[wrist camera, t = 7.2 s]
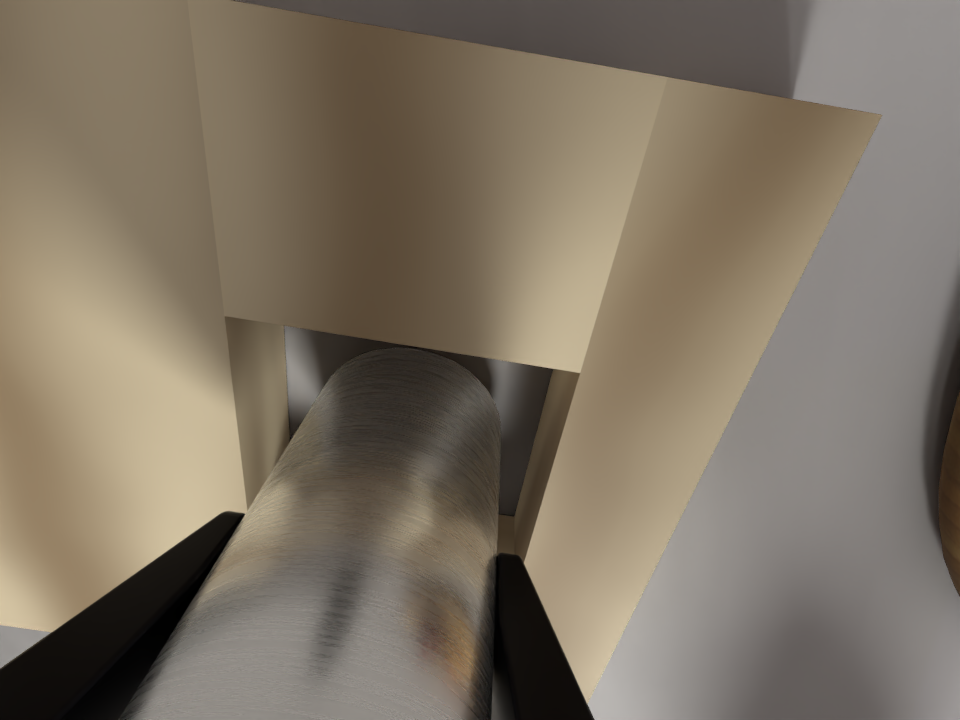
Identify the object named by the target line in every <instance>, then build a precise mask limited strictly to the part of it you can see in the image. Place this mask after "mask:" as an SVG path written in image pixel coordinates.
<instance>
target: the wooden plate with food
mask: <svg viewBox="0 0 960 720" xmlns="http://www.w3.org/2000/svg"><path fill="white" fill-rule="evenodd" d="M939 526H940V534H941V541H942V548H943V556H944V560H945V563H946V565H947V568H948V571H949V573H950V576H951V579H952V581H953V584H954V586H955V588H956V590H957V592H958V594H959V596H960V391H959V394H958V397H957V400H956V404H955V408H954V412H953V416H952V420H951V424H950V428H949V432H948V436H947V440H946V444H945V448H944V452H943V460H942V467H941V475H940V482H939Z"/></svg>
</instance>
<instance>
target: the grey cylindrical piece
mask: <svg viewBox="0 0 960 720" xmlns="http://www.w3.org/2000/svg"><path fill="white" fill-rule="evenodd" d="M500 454H501V422H500V416H499V412H498V410H497V407H496V404H495V402H494V400H493V398H492V397H491V395H490V393H489V392H488V390H487V389H486V388H485V386H484V385H483V384H482V383H481V382H480V381H479V380H478V379H477V378H476V377H475V376H474V375H473V374H472V373H470V372H469V371H468V370H467V369H466V368H464V367H462V366H461V365H459V364H458V363H456V362H454V361H452V360H450V359H448V358H446V357H444V356H441V355H438V354H435V353H433V352H429V351H425V350H420V349H414V348H404V347H402V348H385V349H378V350H374V351H370V352H366V353H364V354H361V355H359V356H357V357H355V358H353V359H351V360H349V361H348V362H346V363H345V364H343V365H342V366H341V367H340V368H338V369H337V370H336V371H335V372H334V373H333V375H332V376H331V377H330V378H329V380H328V381H327V383H326V384H325V386H324V387H323V389H322V391H321V392H320V394H319V396H318V397H317V399H316V400H315V402H314V404H313V405H312V407H311V409H310V410H309V412H308V413H307V415H306V417H305V418H304V420H303V421H302V423H301V425H300V426H299V428H298V430H297V431H296V433H295V434H294V436H293V438H292V439H291V441H290V443H289V444H288V446H287V447H286V449H285V451H284V452H283V454H282V456H281V457H280V459H279V460H278V462H277V464H276V465H275V467H274V468H273V470H272V472H271V473H270V475H269V477H268V478H267V480H266V481H265V483H264V485H263V486H262V488H261V490H260V491H259V493H258V494H257V496H256V498H255V499H254V501H253V503H252V504H251V506H250V507H249V509H248V511H247V512H246V514H245V515H244V517H243V519H242V520H241V522H240V524H239V525H238V527H237V528H236V530H235V532H234V533H233V535H232V537H231V538H230V540H229V541H228V543H227V545H226V546H225V548H224V550H223V551H222V553H221V554H220V556H219V558H218V559H217V561H216V562H215V564H214V566H213V567H212V569H211V571H210V572H209V574H208V575H207V577H206V579H205V580H204V582H203V584H202V585H201V587H200V588H199V590H198V592H197V593H196V595H195V597H194V598H193V600H192V601H191V603H190V605H189V606H188V608H187V609H186V611H185V613H184V614H183V616H182V618H181V619H180V621H179V622H178V624H177V626H176V627H175V629H174V631H173V632H172V634H171V635H170V637H169V639H168V640H167V642H166V644H165V645H164V647H163V648H162V650H161V652H160V653H159V655H158V656H157V658H156V660H155V661H154V663H153V665H152V666H151V668H150V669H149V671H148V673H147V674H146V676H145V678H144V679H143V681H142V682H141V684H140V686H139V687H138V689H137V691H136V692H135V694H134V695H133V697H132V699H131V700H130V702H129V703H128V705H127V707H126V708H125V710H124V712H123V713H122V715H121V716H120V718H119V720H491V715H492V686H493V657H494V627H495V597H496V568H497V541H498V512H499V483H500Z"/></svg>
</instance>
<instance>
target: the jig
mask: <svg viewBox="0 0 960 720" xmlns="http://www.w3.org/2000/svg"><path fill="white" fill-rule="evenodd" d="M881 116H882V115H880V114H874V113H869V112H863V111H857V110H851V109H846V108H840V107H834V106H829V105H823V104H817V103H812V102H806V101H800V100H795V99H789V98H783V97H778V96H772V95H766V94H761V93H755V92H749V91H744V90H738V89H732V88H727V87H721V86H715V85H709V84H704V83H698V82H692V81H687V80H681V79H675V78H670V77H664V76H658V75H653V74H647V73H641V72H636V71H630V70H624V69H619V68H613V67H607V66H602V65H596V64H590V63H585V62H579V61H573V60H567V59H562V58H556V57H550V56H545V55H539V54H533V53H528V52H522V51H516V50H511V49H505V48H499V47H494V46H488V45H482V44H477V43H471V42H465V41H460V40H454V39H448V38H443V37H437V36H431V35H425V34H420V33H414V32H408V31H403V30H397V29H391V28H386V27H380V26H374V25H369V24H363V23H357V22H352V21H346V20H340V19H335V18H329V17H323V16H318V15H312V14H306V13H301V12H295V11H289V10H284V9H278V8H272V7H266V6H261V5H255V4H249V3H244V2H238V1H232V0H0V625H5V626H12V627H19V628H26V629H33V630H40V631H47V632H53V631H54V630H56V629H57V628H58V627H60V626H61V625H63V624H64V623H66V622H67V621H68V620H70V619H71V618H73V617H74V616H75V615H77V614H78V613H80V612H81V611H83V610H84V609H85V608H87V607H88V606H90V605H91V604H93V603H94V602H95V601H97V600H98V599H100V598H101V597H102V596H104V595H105V594H107V593H108V592H110V591H111V590H112V589H114V588H115V587H117V586H118V585H119V584H121V583H122V582H124V581H125V580H127V579H128V578H129V577H131V576H132V575H134V574H135V573H136V572H138V571H139V570H141V569H142V568H144V567H145V566H146V565H148V564H149V563H151V562H152V561H154V560H155V559H156V558H158V557H159V556H161V555H162V554H163V553H165V552H166V551H168V550H169V549H171V548H172V547H173V546H175V545H176V544H178V543H179V542H180V541H182V540H183V539H185V538H186V537H188V536H189V535H190V534H192V533H193V532H195V531H196V530H198V529H199V528H200V527H202V526H203V525H205V524H206V523H207V522H209V521H210V520H212V519H213V518H215V517H216V516H217V515H219V514H220V513H222V512H225V511H233V512H240V513H245V514H246V512H247V511H248V509H249V507H250V506H251V504H252V503H253V501H254V499H255V498H256V496H257V494H258V493H259V491H260V490H261V488H262V486H263V485H264V483H265V481H266V480H267V478H268V477H269V475H270V473H271V472H272V470H273V468H274V467H275V465H276V464H277V462H278V460H279V459H280V457H281V456H282V454H283V452H284V451H285V449H286V447H287V446H288V444H289V443H290V434H289V415H288V395H287V376H286V357H285V338H284V326H290V327H296V328H302V329H309V330H315V331H321V332H327V333H334V334H340V335H346V336H352V337H359V338H365V339H371V340H377V341H384V342H390V343H396V344H402V345H408V346H415V347H421V348H427V349H433V350H440V351H446V352H452V353H458V354H465V355H471V356H477V357H483V358H490V359H496V360H502V361H508V362H515V363H521V364H527V365H533V366H539V367H546V368H552V369H553V372H552V376H551V380H550V383H549V387H548V391H547V395H546V399H545V402H544V406H543V410H542V414H541V418H540V421H539V425H538V429H537V433H536V437H535V440H534V444H533V448H532V452H531V456H530V459H529V463H528V467H527V471H526V475H525V478H524V482H523V486H522V490H521V494H520V497H519V501H518V505H517V509H516V513H515V516H514V517H512V516H506V515H499V514H498V541H497V555H498V554H499V553H508V554H515V555H519V556H520V557H521V558H522V560H523V562H524V564H525V567H526V569H527V571H528V573H529V576H530V578H531V580H532V582H533V584H534V587H535V589H536V591H537V593H538V596H539V598H540V600H541V602H542V604H543V607H544V609H545V611H546V613H547V616H548V618H549V620H550V622H551V624H552V627H553V629H554V631H555V633H556V636H557V638H558V640H559V642H560V644H561V647H562V649H563V651H564V653H565V656H566V658H567V660H568V662H569V665H570V667H571V669H572V671H573V673H574V676H575V678H576V680H577V682H578V685H579V687H580V689H581V691H582V693H583V696H584V698H585V700H586V702H587V704H588V702H589V700H590V698H591V696H592V694H593V692H594V690H595V688H596V686H597V684H598V682H599V680H600V678H601V676H602V674H603V672H604V670H605V668H606V666H607V664H608V662H609V660H610V658H611V656H612V654H613V652H614V650H615V648H616V646H617V644H618V642H619V640H620V638H621V636H622V634H623V632H624V630H625V628H626V626H627V624H628V622H629V620H630V618H631V616H632V614H633V612H634V610H635V608H636V606H637V604H638V602H639V600H640V598H641V596H642V594H643V592H644V590H645V588H646V586H647V584H648V582H649V580H650V578H651V576H652V574H653V572H654V570H655V568H656V566H657V564H658V562H659V560H660V558H661V556H662V554H663V552H664V550H665V548H666V546H667V544H668V542H669V540H670V538H671V536H672V534H673V532H674V530H675V528H676V526H677V524H678V522H679V520H680V518H681V516H682V514H683V512H684V510H685V508H686V506H687V504H688V502H689V500H690V498H691V496H692V494H693V492H694V490H695V488H696V486H697V484H698V482H699V480H700V478H701V476H702V474H703V472H704V470H705V468H706V466H707V464H708V462H709V460H710V458H711V456H712V454H713V452H714V450H715V448H716V446H717V444H718V442H719V440H720V438H721V436H722V434H723V432H724V430H725V428H726V426H727V424H728V422H729V420H730V418H731V416H732V414H733V412H734V410H735V408H736V406H737V404H738V402H739V400H740V398H741V396H742V394H743V392H744V390H745V388H746V386H747V384H748V382H749V380H750V378H751V376H752V374H753V372H754V370H755V368H756V366H757V364H758V362H759V360H760V358H761V356H762V354H763V352H764V350H765V348H766V346H767V344H768V342H769V340H770V338H771V336H772V334H773V332H774V330H775V328H776V326H777V324H778V322H779V320H780V318H781V316H782V314H783V312H784V310H785V308H786V306H787V304H788V302H789V300H790V298H791V296H792V294H793V292H794V290H795V288H796V286H797V284H798V282H799V280H800V278H801V276H802V274H803V272H804V270H805V268H806V266H807V264H808V262H809V260H810V258H811V256H812V254H813V252H814V250H815V248H816V246H817V244H818V242H819V240H820V238H821V236H822V234H823V232H824V230H825V228H826V226H827V224H828V222H829V220H830V218H831V216H832V214H833V212H834V210H835V208H836V206H837V204H838V202H839V200H840V198H841V196H842V194H843V192H844V190H845V188H846V186H847V184H848V182H849V180H850V178H851V176H852V174H853V172H854V170H855V168H856V166H857V164H858V162H859V160H860V158H861V156H862V154H863V152H864V150H865V148H866V146H867V144H868V142H869V140H870V138H871V136H872V134H873V132H874V130H875V128H876V126H877V124H878V122H879V120H880V118H881Z"/></svg>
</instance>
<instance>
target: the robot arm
mask: <svg viewBox="0 0 960 720" xmlns="http://www.w3.org/2000/svg"><path fill="white" fill-rule="evenodd" d="M244 515H245V513H240V512H233V511H225V512H222V513H220V514H219V515H217V516H216V517H215V518H213V519H212V520H210V521H209V522H207V523H206V524H205V525H203V526H202V527H200V528H199V529H198V530H196V531H195V532H193V533H192V534H190V535H189V536H188V537H186V538H185V539H183V540H182V541H180V542H179V543H178V544H176V545H175V546H173V547H172V548H171V549H169V550H168V551H166V552H165V553H163V554H162V555H161V556H159V557H158V558H156V559H155V560H154V561H152V562H151V563H149V564H148V565H146V566H145V567H144V568H142V569H141V570H139V571H138V572H136V573H135V574H134V575H132V576H131V577H129V578H128V579H127V580H125V581H124V582H122V583H121V584H119V585H118V586H117V587H115V588H114V589H112V590H111V591H110V592H108V593H107V594H105V595H104V596H102V597H101V598H100V599H98V600H97V601H95V602H94V603H93V604H91V605H90V606H88V607H87V608H85V609H84V610H83V611H81V612H80V613H78V614H77V615H75V616H74V617H73V618H71V619H70V620H68V621H67V622H66V623H64V624H63V625H61V626H60V627H58V628H57V629H56V630H54V631H53V632H51V633H50V634H49V635H47V636H46V637H44V638H43V639H41V640H40V641H39V642H37V643H36V644H34V645H33V646H31V647H30V648H29V649H27V650H26V651H24V652H23V653H22V654H20V655H19V656H17V657H16V658H14V659H13V660H12V661H10V662H9V663H7V664H6V665H5V666H3V667H2V668H0V720H119V718H120V716H121V715H122V713H123V712H124V710H125V708H126V707H127V705H128V703H129V702H130V700H131V699H132V697H133V695H134V694H135V692H136V691H137V689H138V687H139V686H140V684H141V682H142V681H143V679H144V678H145V676H146V674H147V673H148V671H149V669H150V668H151V666H152V665H153V663H154V661H155V660H156V658H157V656H158V655H159V653H160V652H161V650H162V648H163V647H164V645H165V644H166V642H167V640H168V639H169V637H170V635H171V634H172V632H173V631H174V629H175V627H176V626H177V624H178V622H179V621H180V619H181V618H182V616H183V614H184V613H185V611H186V609H187V608H188V606H189V605H190V603H191V601H192V600H193V598H194V597H195V595H196V593H197V592H198V590H199V588H200V587H201V585H202V584H203V582H204V580H205V579H206V577H207V575H208V574H209V572H210V571H211V569H212V567H213V566H214V564H215V562H216V561H217V559H218V558H219V556H220V554H221V553H222V551H223V550H224V548H225V546H226V545H227V543H228V541H229V540H230V538H231V537H232V535H233V533H234V532H235V530H236V528H237V527H238V525H239V524H240V522H241V520H242V519H243V517H244ZM491 720H594V718H593V716H592V713H591V711H590V709H589V707H588V705H587V702H586V700H585V698H584V696H583V693H582V691H581V689H580V687H579V685H578V682H577V680H576V678H575V676H574V673H573V671H572V669H571V667H570V665H569V662H568V660H567V658H566V656H565V653H564V651H563V649H562V647H561V644H560V642H559V640H558V638H557V636H556V633H555V631H554V629H553V627H552V624H551V622H550V620H549V618H548V616H547V613H546V611H545V609H544V607H543V604H542V602H541V600H540V598H539V596H538V593H537V591H536V589H535V587H534V584H533V582H532V580H531V578H530V576H529V573H528V571H527V569H526V567H525V564H524V562H523V560H522V558H521V557H520V556H519V555H515V554H508V553H499V554H498V555H497V568H496V597H495V627H494V657H493V686H492V715H491Z"/></svg>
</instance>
